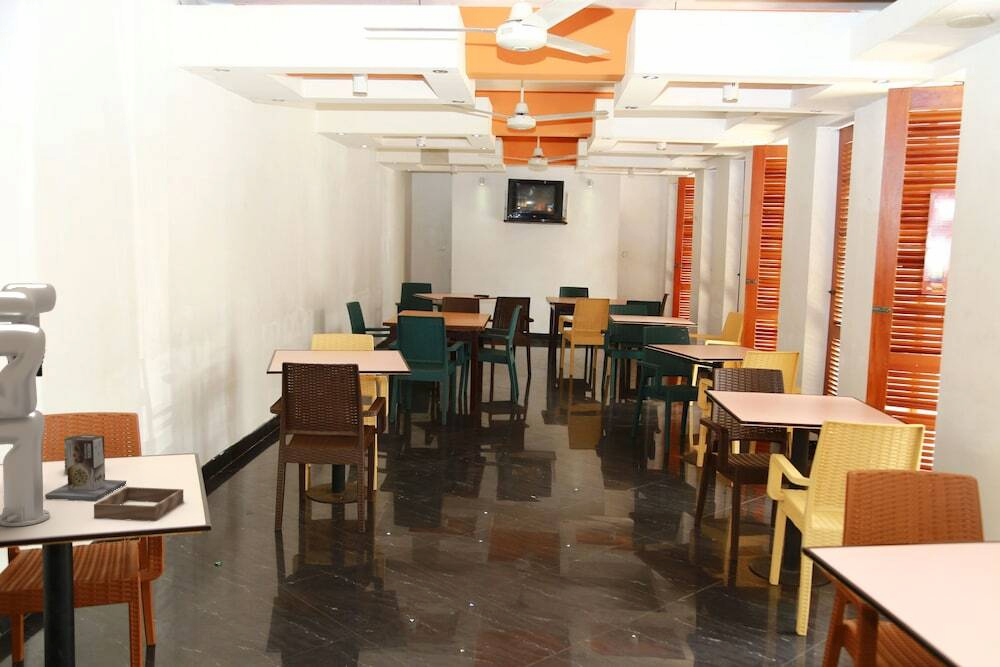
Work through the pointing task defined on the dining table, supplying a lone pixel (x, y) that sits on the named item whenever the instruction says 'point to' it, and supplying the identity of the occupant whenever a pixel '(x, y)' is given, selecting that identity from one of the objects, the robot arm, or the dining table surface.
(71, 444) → the coffee box
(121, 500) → the wooden frame
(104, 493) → the serving board
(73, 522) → the dining table surface
